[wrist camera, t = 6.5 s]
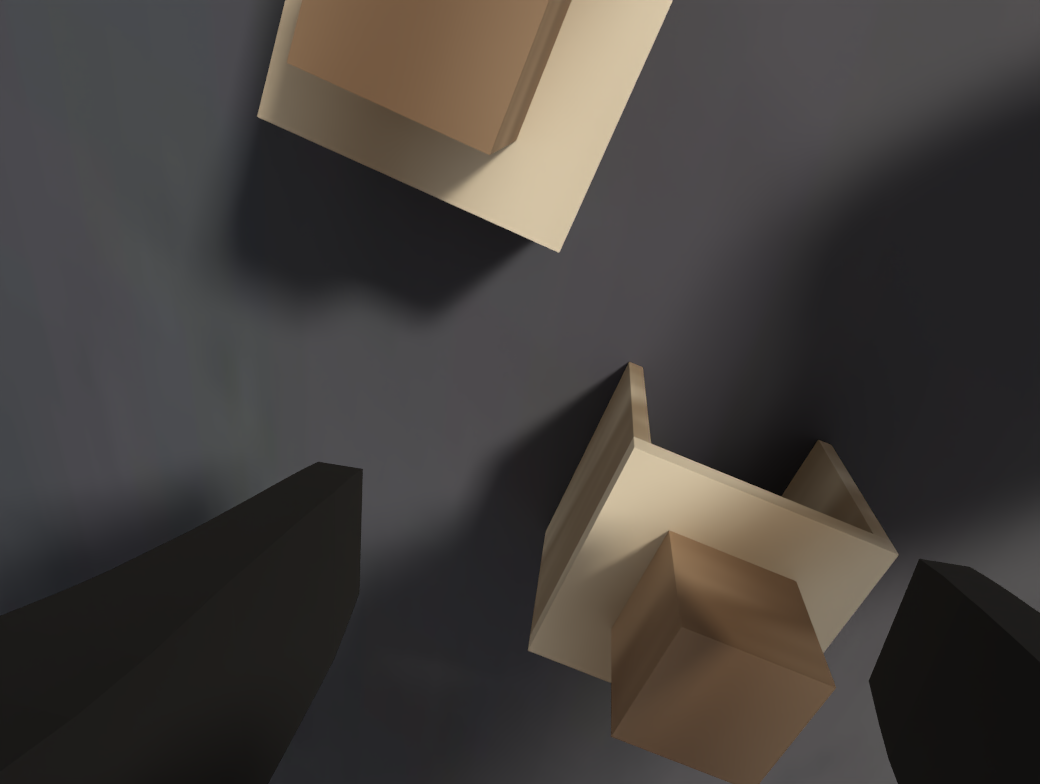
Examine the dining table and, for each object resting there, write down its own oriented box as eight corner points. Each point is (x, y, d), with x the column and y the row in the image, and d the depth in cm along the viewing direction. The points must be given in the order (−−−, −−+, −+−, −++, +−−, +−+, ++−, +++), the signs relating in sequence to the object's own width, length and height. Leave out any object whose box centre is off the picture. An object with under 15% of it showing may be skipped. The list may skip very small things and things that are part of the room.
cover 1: (688, -49, 15) (757, -172, 8) (572, 210, 18) (545, 295, 11) (432, -173, 15) (263, -415, 8) (349, 109, 18) (162, 124, 10)
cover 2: (831, 445, 19) (963, 660, 12) (726, 603, 22) (784, 862, 15) (628, 361, 19) (639, 530, 12) (545, 531, 22) (511, 758, 14)
